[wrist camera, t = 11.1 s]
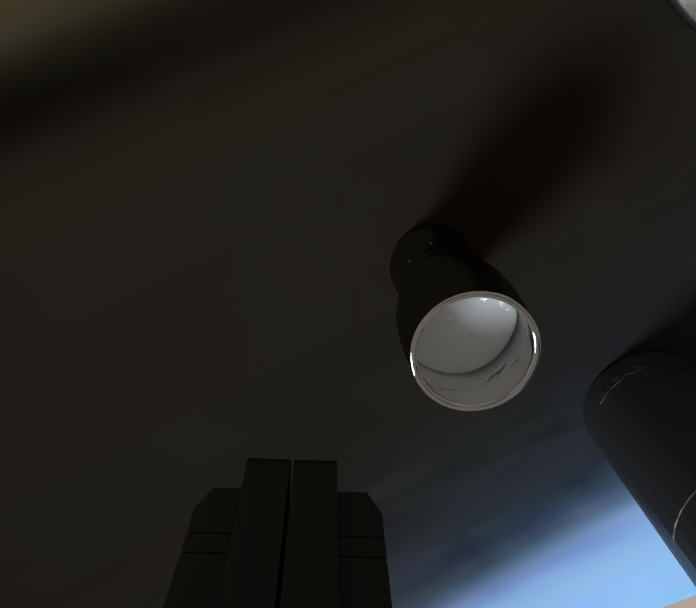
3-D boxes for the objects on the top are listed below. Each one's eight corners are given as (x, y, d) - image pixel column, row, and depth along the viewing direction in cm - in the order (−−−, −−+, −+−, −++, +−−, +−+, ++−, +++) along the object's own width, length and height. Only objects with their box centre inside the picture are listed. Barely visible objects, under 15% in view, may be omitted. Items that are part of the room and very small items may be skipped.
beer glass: (499, 248, 46) (573, 329, 32) (446, 327, 48) (493, 436, 34) (416, 199, 45) (455, 261, 31) (365, 283, 47) (379, 377, 33)
